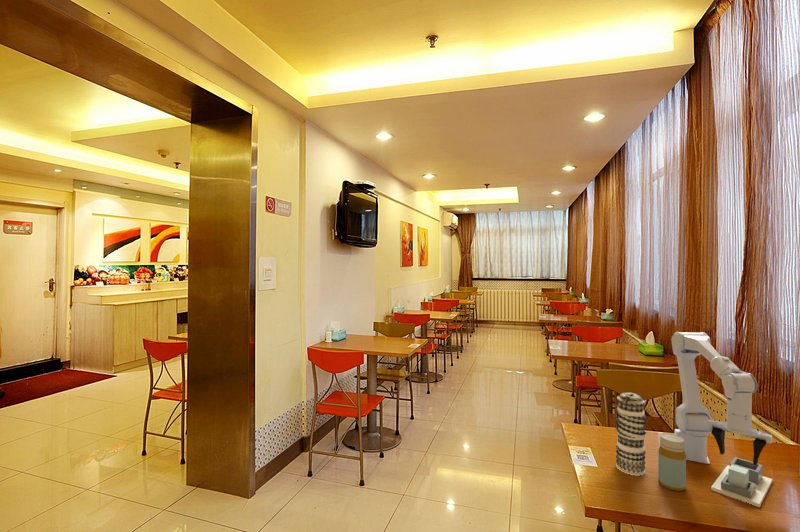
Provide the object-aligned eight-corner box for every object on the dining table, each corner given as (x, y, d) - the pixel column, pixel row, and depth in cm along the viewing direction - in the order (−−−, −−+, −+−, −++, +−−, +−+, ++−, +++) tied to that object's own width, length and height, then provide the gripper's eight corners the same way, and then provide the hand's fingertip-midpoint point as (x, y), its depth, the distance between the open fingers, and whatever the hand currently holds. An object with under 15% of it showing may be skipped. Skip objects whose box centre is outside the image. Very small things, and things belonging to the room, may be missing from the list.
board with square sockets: (759, 507, 111) (759, 490, 111) (711, 490, 120) (711, 473, 120) (772, 482, 124) (772, 466, 124) (727, 468, 132) (727, 453, 132)
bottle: (677, 494, 117) (678, 444, 117) (653, 482, 124) (653, 435, 123) (690, 488, 121) (690, 439, 120) (666, 477, 127) (666, 430, 127)
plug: (745, 494, 116) (745, 474, 116) (728, 488, 119) (728, 468, 119) (748, 488, 119) (749, 468, 119) (731, 482, 122) (732, 463, 122)
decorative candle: (618, 474, 129) (619, 398, 128) (611, 460, 138) (612, 389, 137) (650, 478, 126) (651, 400, 126) (641, 464, 135) (641, 391, 135)
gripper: (705, 409, 121) (704, 453, 121) (769, 424, 110) (768, 472, 110) (711, 404, 126) (711, 446, 126) (773, 418, 114) (773, 464, 115)
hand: (738, 458), depth 118 cm, fingers open, 7 cm apart
